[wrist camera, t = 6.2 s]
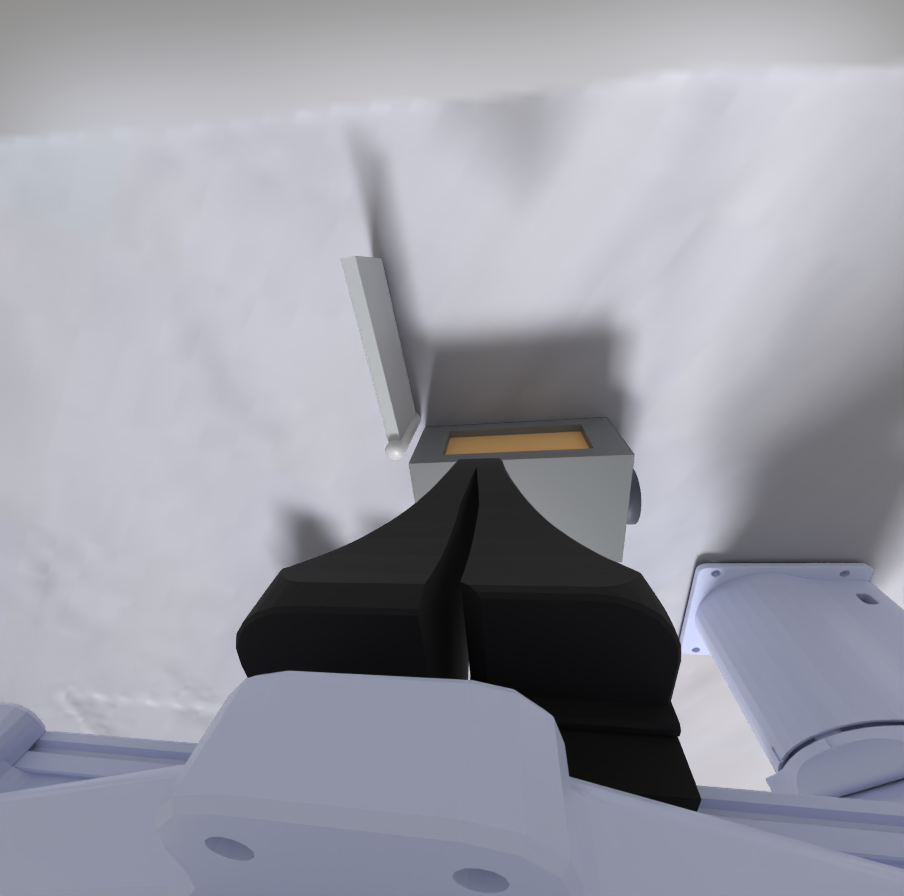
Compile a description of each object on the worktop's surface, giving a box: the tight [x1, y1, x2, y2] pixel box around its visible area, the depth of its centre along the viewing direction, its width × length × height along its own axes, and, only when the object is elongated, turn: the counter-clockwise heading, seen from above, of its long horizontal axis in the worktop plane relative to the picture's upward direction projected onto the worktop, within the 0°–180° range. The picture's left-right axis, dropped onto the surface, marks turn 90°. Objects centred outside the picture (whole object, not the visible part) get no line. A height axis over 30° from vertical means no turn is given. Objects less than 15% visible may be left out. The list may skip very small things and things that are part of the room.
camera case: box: [409, 417, 641, 562], centre depth 20 cm, size 11×6×5 cm, turn 96°
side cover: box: [341, 256, 421, 460], centre depth 18 cm, size 9×1×4 cm, turn 10°
